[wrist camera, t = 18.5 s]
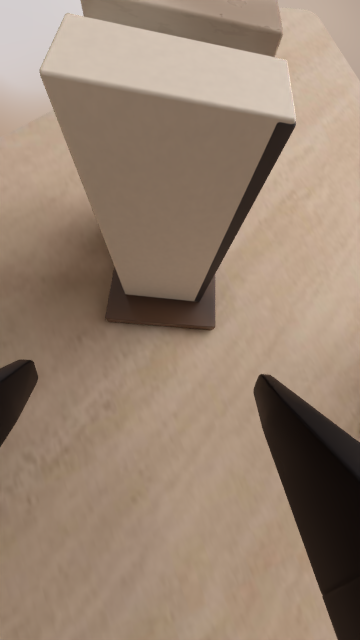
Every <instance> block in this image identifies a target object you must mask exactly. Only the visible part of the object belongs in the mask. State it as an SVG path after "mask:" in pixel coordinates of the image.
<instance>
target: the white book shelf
mask: <svg viewBox="0 0 360 640" xmlns="http://www.w3.org/2000/svg"><path fill="white" fill-rule="evenodd" d="M81 4H82V9H83V14H84V17H88V18H93V19H98V20H102V21H107V22H112V23H116V24H121V25H126V26H130V27H135V28H140V29H144V30H149V31H154V32H158V33H163V34H168V35H173V36H177V37H182V38H187V39H191V40H196V41H201V42H205V43H210V44H215V45H219V46H224V47H229V48H233V49H238V50H243V51H247V52H252V53H257V54H261V55H266V56H271V57H275V55H276V52H277V49H278V47H279V44H280V41H281V38H282V36H283V28H282V23H281V17H280V12H279V7H278V1H277V0H81ZM106 320H107V321H108V322H121V323H133V324H146V325H158V326H171V327H183V328H196V329H208V330H213V329H214V328H215V275H214V277H213V279H212V280H211V282H210V284H209V286H208V288H207V290H206V291H205V293H204V295H203V297H202V299H201V301H200V302H195V301H186V300H176V299H167V298H157V297H147V296H138V295H128V294H125V292H124V289H123V287H122V284H121V282H120V279H119V276H118V274H117V271H116V269H115V266H114V271H113V277H112V283H111V289H110V294H109V300H108V306H107V312H106Z"/></svg>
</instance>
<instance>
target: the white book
mask: <svg viewBox="0 0 360 640" xmlns="http://www.w3.org/2000/svg"><path fill="white" fill-rule="evenodd" d="M40 76H41V78H42V81H43V83H44V86H45V89H46V91H47V94H48V96H49V99H50V102H51V104H52V106H53V109H54V112H55V114H56V117H57V120H58V122H59V125H60V127H61V130H62V132H63V135H64V138H65V140H66V143H67V145H68V148H69V150H70V153H71V156H72V158H73V161H74V163H75V166H76V168H77V171H78V174H79V176H80V179H81V181H82V184H83V186H84V189H85V192H86V194H87V197H88V199H89V202H90V204H91V207H92V210H93V212H94V215H95V217H96V220H97V222H98V225H99V228H100V230H101V233H102V235H103V238H104V240H105V243H106V246H107V248H108V251H109V253H110V256H111V258H112V261H113V264H114V266H115V269H116V271H117V274H118V276H119V279H120V282H121V284H122V287H123V289H124V292H125V294H128V295H138V296H147V297H157V298H167V299H176V300H186V301H195V302H200V301H201V299H202V297H203V295H204V293H205V291H206V290H207V288H208V286H209V284H210V282H211V280H212V279H213V277H214V275H215V273H216V271H217V269H218V267H219V266H220V264H221V262H222V260H223V258H224V256H225V255H226V253H227V251H228V249H229V247H230V245H231V244H232V242H233V240H234V238H235V236H236V234H237V233H238V231H239V229H240V227H241V225H242V223H243V222H244V220H245V218H246V216H247V214H248V212H249V211H250V209H251V207H252V205H253V203H254V201H255V199H256V198H257V196H258V194H259V192H260V190H261V188H262V187H263V185H264V183H265V181H266V179H267V177H268V176H269V174H270V172H271V170H272V168H273V166H274V165H275V163H276V161H277V159H278V157H279V155H280V154H281V152H282V150H283V148H284V146H285V144H286V143H287V141H288V139H289V137H290V135H291V133H292V131H293V130H294V128H295V126H296V115H295V108H294V102H293V95H292V89H291V83H290V76H289V70H288V64H287V61H286V60H285V59H280V58H275V57H271V56H266V55H261V54H257V53H252V52H247V51H243V50H238V49H233V48H229V47H224V46H219V45H215V44H210V43H205V42H201V41H196V40H191V39H187V38H182V37H177V36H173V35H168V34H163V33H158V32H154V31H149V30H144V29H140V28H135V27H130V26H126V25H121V24H116V23H112V22H107V21H102V20H98V19H93V18H88V17H84V16H79V15H74V14H70V13H67V14H65V16H64V18H63V20H62V22H61V25H60V27H59V29H58V31H57V33H56V36H55V37H54V40H53V42H52V44H51V46H50V48H49V51H48V53H47V55H46V57H45V59H44V61H43V63H42V66H41V68H40Z"/></svg>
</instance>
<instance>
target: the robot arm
mask: <svg viewBox="0 0 360 640" xmlns="http://www.w3.org/2000/svg"><path fill="white" fill-rule="evenodd" d="M37 380H38V375H37V371H36V368H35V365H34V362H33V361H32V360H18V361H15V362H13V363H11V364H9V365H7V366H5V367H2V368H0V447H1V445H2V444H3V442H4V440H5V439H6V437H7V436H8V434H9V433H10V431H11V430H12V428H13V426H14V425H15V423H16V422H17V420H18V418H19V416H20V414H21V412H22V410H23V408H24V407H25V405H26V403H27V401H28V399H29V397H30V395H31V393H32V391H33V389H34V387H35V385H36V383H37ZM254 396H255V400H256V404H257V408H258V412H259V416H260V420H261V424H262V428H263V431H264V434H265V437H266V440H267V443H268V446H269V448H270V451H271V454H272V457H273V460H274V462H275V465H276V468H277V471H278V473H279V476H280V479H281V482H282V485H283V487H284V490H285V493H286V496H287V499H288V501H289V504H290V507H291V510H292V513H293V515H294V518H295V521H296V524H297V527H298V529H299V532H300V535H301V538H302V541H303V543H304V546H305V549H306V552H307V555H308V557H309V560H310V563H311V566H312V568H313V571H314V574H315V577H316V580H317V582H318V585H319V588H320V591H321V593H322V595H323V596H322V597H323V600H324V603H325V605H326V608H327V611H328V614H329V617H330V619H331V622H332V625H333V628H334V631H335V633H336V636H337V639H338V640H360V443H359V442H358V441H357V440H355V439H354V438H353V437H352V436H350V435H349V434H348V433H346V432H345V431H344V430H342V429H341V428H340V427H338V426H337V425H336V424H334V423H333V422H332V421H330V420H329V419H328V418H326V417H325V416H324V415H323V414H321V413H320V412H319V411H317V410H316V409H315V408H313V407H312V406H311V405H309V404H308V403H307V402H305V401H304V400H303V399H301V398H300V397H299V396H297V395H296V394H295V393H294V392H292V391H291V390H290V389H288V388H287V387H286V386H284V385H283V384H282V383H280V382H279V381H278V380H276V379H275V378H274V377H272V376H271V375H266V374H261V375H259V377H258V379H257V382H256V384H255V387H254Z"/></svg>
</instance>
